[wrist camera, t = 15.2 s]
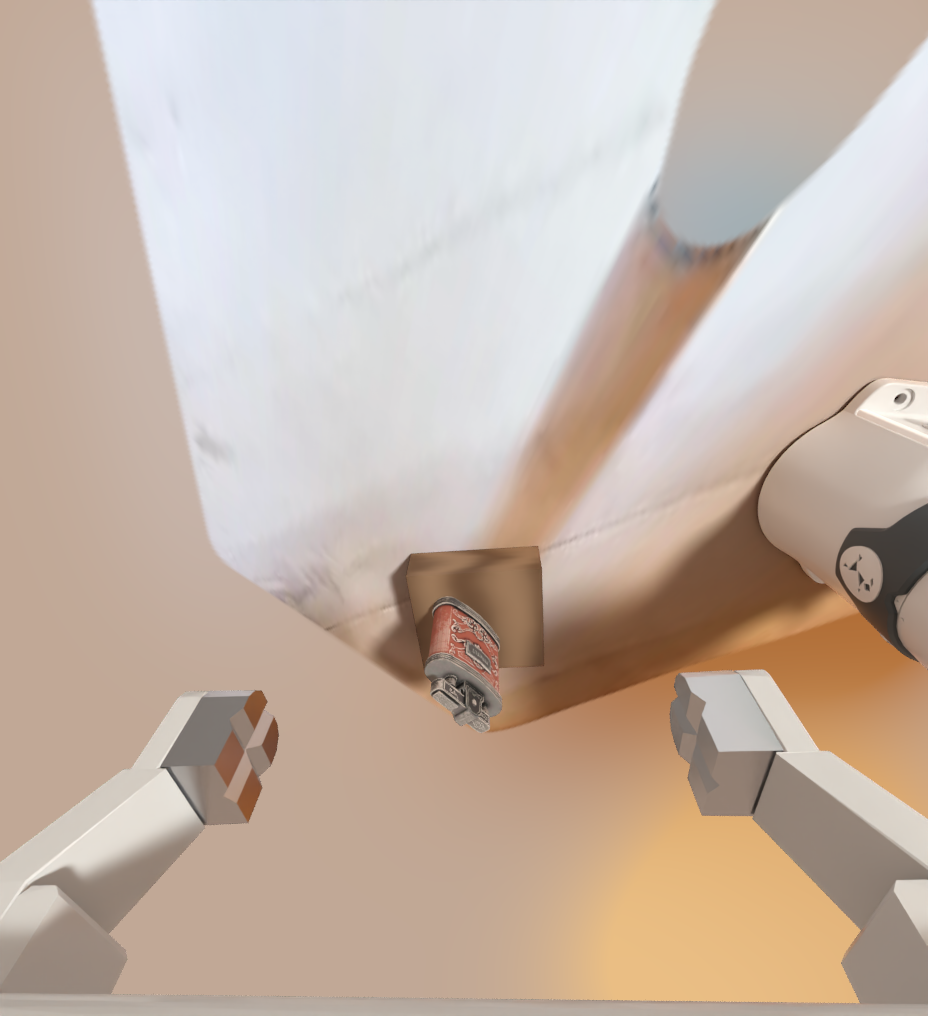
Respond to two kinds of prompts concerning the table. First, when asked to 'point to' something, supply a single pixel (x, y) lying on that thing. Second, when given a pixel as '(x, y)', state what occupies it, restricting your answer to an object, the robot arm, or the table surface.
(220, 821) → the robot arm
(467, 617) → the lighter
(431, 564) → the walnut base
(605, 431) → the table surface
